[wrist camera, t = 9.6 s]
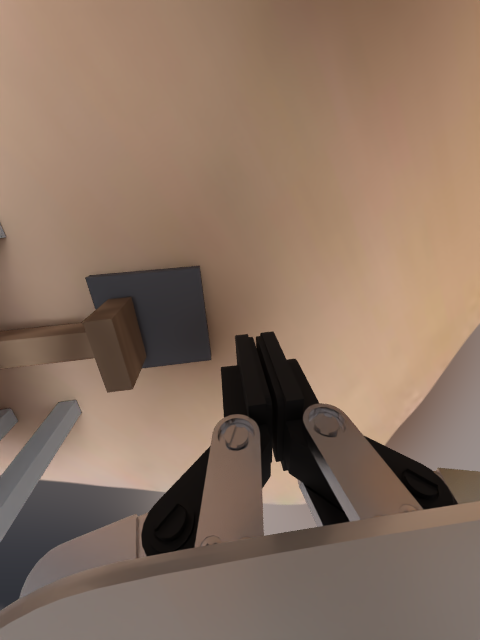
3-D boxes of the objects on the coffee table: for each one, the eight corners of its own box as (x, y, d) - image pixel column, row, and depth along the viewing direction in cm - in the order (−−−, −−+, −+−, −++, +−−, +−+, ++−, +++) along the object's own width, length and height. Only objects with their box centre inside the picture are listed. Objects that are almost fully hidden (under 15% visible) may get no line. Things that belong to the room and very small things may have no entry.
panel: (199, 265, 19) (199, 267, 18) (211, 355, 22) (211, 359, 21) (90, 275, 18) (85, 278, 17) (118, 366, 21) (115, 371, 21)
